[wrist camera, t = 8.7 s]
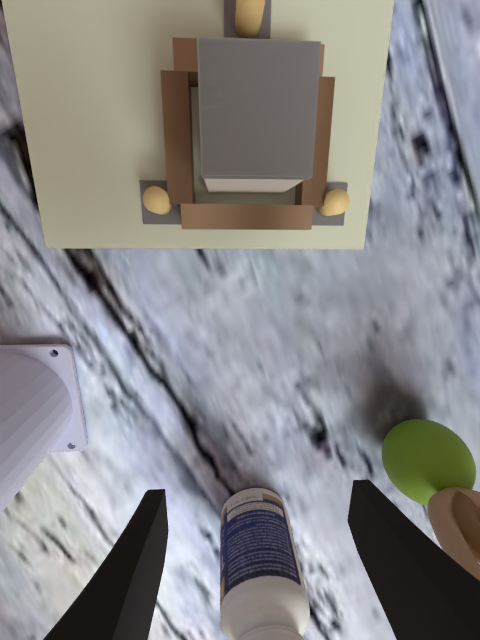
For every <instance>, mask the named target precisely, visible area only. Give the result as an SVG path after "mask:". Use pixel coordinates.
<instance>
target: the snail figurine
mask: <svg viewBox="0 0 480 640" xmlns="http://www.w3.org/2000/svg"><path fill="white" fill-rule="evenodd" d="M382 461H383V465H384V468H385V471H386V473H387V475H388V477H389V478H390V480H391V481H392V483H393V484H394V485H395V486H396V487H397V488H398V489H399V490H400V491H401V492H402V493H403V494H404V495H406V496H407V497H409V498H410V499H412V500H414V501H416V502H418V503H420V504H423V505H426V506H427V509H428V515H429V519H430V522H431V525H432V528H433V530H434V533H435V535H436V537H437V540H438V542H439V544H440V546H441V548H442V550H443V551H444V552H445V553H446V554H448V555H449V556H450V557H451V558H452V559H453V560H455V561H456V562H457V563H458V564H459V565H461V566H462V567H463V568H464V569H465V570H467V571H468V572H469V573H470V574H472V575H473V576H474V577H475V578H477V579H478V580H479V581H480V564H479V563H480V492H477V491H474V490H472V489H473V487H474V484H475V479H476V467H475V463H474V459H473V457H472V454H471V452H470V450H469V449H468V447H467V446H466V444H465V443H464V442H463V440H462V439H461V438H460V437H459V436H458V435H457V434H455V433H454V432H453V431H452V430H450V429H449V428H447V427H445V426H443V425H441V424H439V423H437V422H434V421H430V420H425V419H411V420H407V421H403V422H401V423H399V424H397V425H396V426H394V427H393V428H392V429H391V430H390V431H389V432H388V434H387V435H386V437H385V439H384V442H383V445H382ZM478 562H479V563H478Z"/></svg>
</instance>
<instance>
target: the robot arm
mask: <svg viewBox="0 0 480 640" xmlns="http://www.w3.org/2000/svg"><path fill="white" fill-rule="evenodd" d="M53 350H56V351H57V352H58V355H56V354H54V353H53ZM71 443H73V444H75V445H72V444H71ZM87 445H88V438H87V432H86V426H85V420H84V414H83V409H82V403H81V397H80V391H79V385H78V379H77V373H76V367H75V361H74V355H73V350H72V348H71V347H70V346H69V345H67V344H30V345H0V514H1V513H2V512H3V510H4V509H5V508H6V506H7V505H8V504H9V503H10V501H11V500H12V499H13V497H14V496H15V495H16V494H17V492H18V491H19V490H20V488H21V487H22V486H23V485H24V483H25V482H26V481H27V479H28V478H29V477H30V476H31V474H32V473H33V472H34V471H35V469H36V468H37V467H38V465H39V464H40V463H41V462H42V460H43V459H44V458H45V456H46V455H47V454H48V453H49V452H71V451H83V450H85V448H86V447H87ZM348 524H349V527H350V530H351V533H352V536H353V539H354V542H355V545H356V548H357V551H358V553H359V556H360V558H361V560H362V563H363V565H364V567H365V569H366V572H367V574H368V576H369V578H370V581H371V583H372V585H373V587H374V589H375V592H376V594H377V596H378V598H379V601H380V603H381V605H382V607H383V609H384V612H385V614H386V616H387V618H388V621H389V623H390V625H391V627H392V629H393V632H394V634H395V637H396V639H397V640H480V581H479V580H478V579H477V578H475V577H474V576H473V575H472V574H470V573H469V572H468V571H467V570H465V569H464V568H463V567H462V566H461V565H459V564H458V563H457V562H456V561H455V560H453V559H452V558H451V557H450V556H449V555H448V554H446V553H445V552H444V551H443V550H442V549H441V548H440V547H438V546H437V545H436V544H435V543H434V542H433V541H432V540H431V539H430V538H428V537H427V536H426V535H425V534H424V533H423V532H422V531H421V530H420V529H419V528H418V527H417V526H416V525H414V524H413V523H412V522H411V521H410V520H409V519H408V518H407V517H406V516H405V515H404V514H403V513H402V512H401V511H400V510H399V509H398V508H397V507H396V506H395V505H394V504H393V503H392V502H391V501H390V500H389V499H388V498H387V497H386V496H385V495H384V494H383V493H382V492H381V491H380V490H379V489H378V488H377V487H376V486H375V485H374V484H373V483H372V482H371V481H370V480H353V487H352V494H351V501H350V508H349V515H348ZM167 539H168V519H167V507H166V496H165V489H158V490H148V491H147V492H146V493H145V495H144V496H143V498H142V500H141V502H140V504H139V506H138V507H137V509H136V511H135V513H134V514H133V516H132V518H131V519H130V521H129V523H128V524H127V526H126V528H125V529H124V531H123V533H122V534H121V536H120V537H119V539H118V540H117V542H116V543H115V545H114V547H113V548H112V550H111V551H110V553H109V554H108V556H107V557H106V559H105V560H104V561H103V563H102V564H101V566H100V567H99V569H98V570H97V571H96V573H95V574H94V576H93V577H92V579H91V580H90V581H89V583H88V584H87V585H86V587H85V588H84V589H83V591H82V592H81V593H80V595H79V596H78V597H77V599H76V600H75V601H74V602H73V604H72V605H71V606H70V607H69V609H68V610H67V611H66V613H65V614H64V615H63V616H62V618H61V619H60V620H59V621H58V622H57V624H56V625H55V626H54V627H53V628H52V630H51V631H50V632H49V633H48V634H47V636H46V637H45V638H44V639H43V640H148V635H149V631H150V626H151V622H152V617H153V613H154V608H155V604H156V599H157V595H158V590H159V586H160V581H161V576H162V572H163V567H164V562H165V554H166V547H167Z"/></svg>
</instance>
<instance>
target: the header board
mask: <svg viewBox="0 0 480 640" xmlns="http://www.w3.org/2000/svg"><path fill="white" fill-rule="evenodd" d="M2 5H3V10H4V16H5V22H6V27H7V33H8V38H9V44H10V50H11V55H12V61H13V66H14V72H15V78H16V83H17V89H18V94H19V100H20V106H21V111H22V117H23V122H24V128H25V134H26V139H27V145H28V151H29V156H30V162H31V167H32V173H33V179H34V184H35V190H36V195H37V201H38V207H39V212H40V218H41V223H42V229H43V235H44V240H45V246H46V248H116V249H364V242H365V234H366V226H367V218H368V209H369V201H370V193H371V185H372V177H373V169H374V161H375V152H376V144H377V136H378V128H379V120H380V112H381V104H382V95H383V87H384V79H385V71H386V63H387V55H388V47H389V38H390V30H391V22H392V14H393V6H394V0H2ZM172 37H176V38H197V37H222V38H247V39H273V40H299V41H321V44H325V48H324V62H323V77H335V87H334V99H333V111H332V123H331V135H330V148H329V160H328V172H327V184H326V196H325V200H324V206H320V207H316V208H313V215H312V229H311V230H218V229H182V224H181V206H172V205H170V204H169V197H168V191H167V174H166V158H165V141H164V124H163V108H162V91H161V74H160V70H167V71H174V60H173V40H172ZM191 102H192V131H193V159H194V187H195V204H242V205H295V191H296V185H295V186H294V187H292V188H290V189H289V190H287V191H285V192H284V193H282V194H263V193H209V192H208V189H207V186H206V183H205V180H204V179H202V175H201V146H200V117H199V87H191Z"/></svg>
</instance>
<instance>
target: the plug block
mask: <svg viewBox="0 0 480 640" xmlns="http://www.w3.org/2000/svg"><path fill="white" fill-rule="evenodd" d="M320 53H321V41H299V40H273V39H247V38H222V37H197V58H198V87H199V117H200V146H201V175H202V179H204V180H205V183H206V186H207V189H208V192H209V193H263V194H282V193H284V192H285V191H287V190H289V189H290V188H292V187H294V186H295V185H297V184H298V183H300V182H302V181H303V180H308V179H310V178H312V177H313V162H314V146H315V131H316V115H317V100H318V84H319V69H320Z"/></svg>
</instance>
